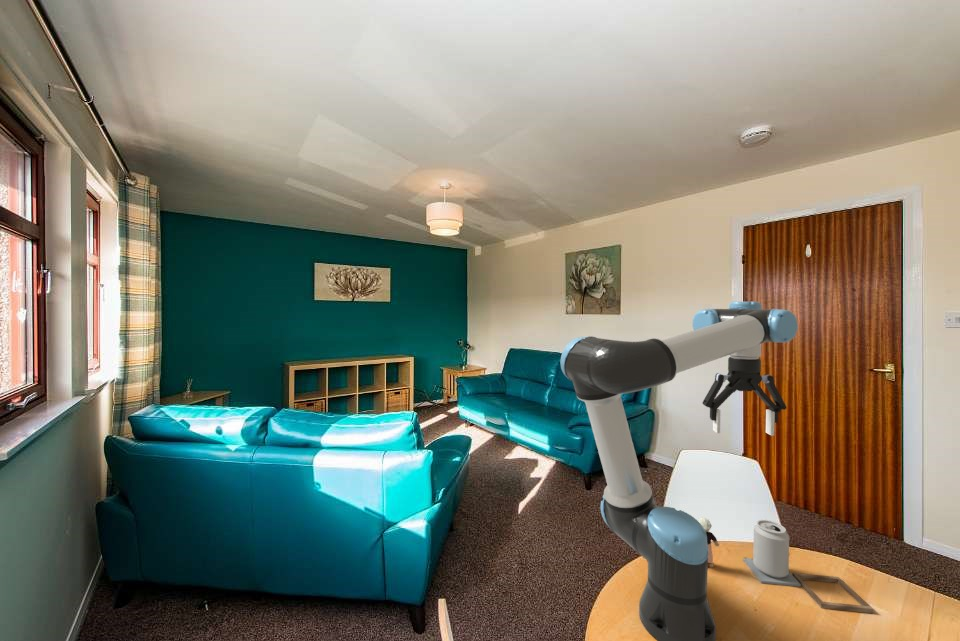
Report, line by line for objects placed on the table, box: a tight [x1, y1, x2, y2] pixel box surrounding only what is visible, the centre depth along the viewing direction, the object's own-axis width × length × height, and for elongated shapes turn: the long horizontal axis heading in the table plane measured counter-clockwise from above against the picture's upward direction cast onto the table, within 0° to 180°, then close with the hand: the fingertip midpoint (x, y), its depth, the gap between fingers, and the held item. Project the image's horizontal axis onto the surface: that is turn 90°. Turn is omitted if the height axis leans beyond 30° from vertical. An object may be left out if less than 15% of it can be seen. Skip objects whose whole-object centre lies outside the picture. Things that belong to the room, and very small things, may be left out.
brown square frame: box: [791, 572, 875, 614], centre depth 95 cm, size 11×11×1 cm
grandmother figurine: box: [697, 517, 720, 568], centre depth 105 cm, size 8×4×13 cm, turn 106°
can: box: [752, 519, 790, 578], centre depth 102 cm, size 8×8×12 cm
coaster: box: [742, 557, 802, 588], centre depth 102 cm, size 9×9×1 cm
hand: (742, 433), depth 108 cm, fingers open, 13 cm apart
